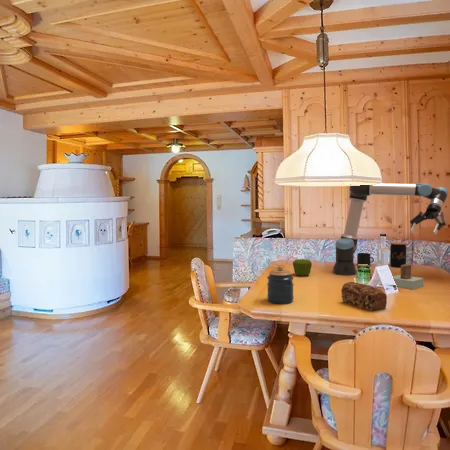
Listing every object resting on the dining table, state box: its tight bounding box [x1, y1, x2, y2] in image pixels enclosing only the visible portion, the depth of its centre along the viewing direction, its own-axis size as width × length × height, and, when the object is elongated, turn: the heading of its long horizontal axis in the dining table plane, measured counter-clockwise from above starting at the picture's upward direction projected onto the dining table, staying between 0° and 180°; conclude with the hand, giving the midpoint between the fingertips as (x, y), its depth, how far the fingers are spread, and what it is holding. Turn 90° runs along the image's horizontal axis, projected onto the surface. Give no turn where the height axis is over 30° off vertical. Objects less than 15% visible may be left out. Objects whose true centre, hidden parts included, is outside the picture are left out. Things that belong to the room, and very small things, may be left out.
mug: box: [356, 252, 375, 266], centre depth 273 cm, size 9×12×9 cm
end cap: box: [393, 274, 425, 290], centre depth 207 cm, size 14×13×4 cm
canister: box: [266, 265, 294, 305], centre depth 178 cm, size 13×13×18 cm
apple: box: [292, 258, 313, 277], centre depth 240 cm, size 12×12×11 cm
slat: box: [400, 263, 412, 279], centre depth 207 cm, size 3×6×12 cm, turn 126°
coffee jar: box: [389, 241, 407, 269], centre depth 267 cm, size 11×11×18 cm
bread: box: [340, 281, 388, 312], centre depth 169 cm, size 19×11×10 cm, turn 26°
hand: (422, 232), depth 217 cm, fingers open, 13 cm apart
